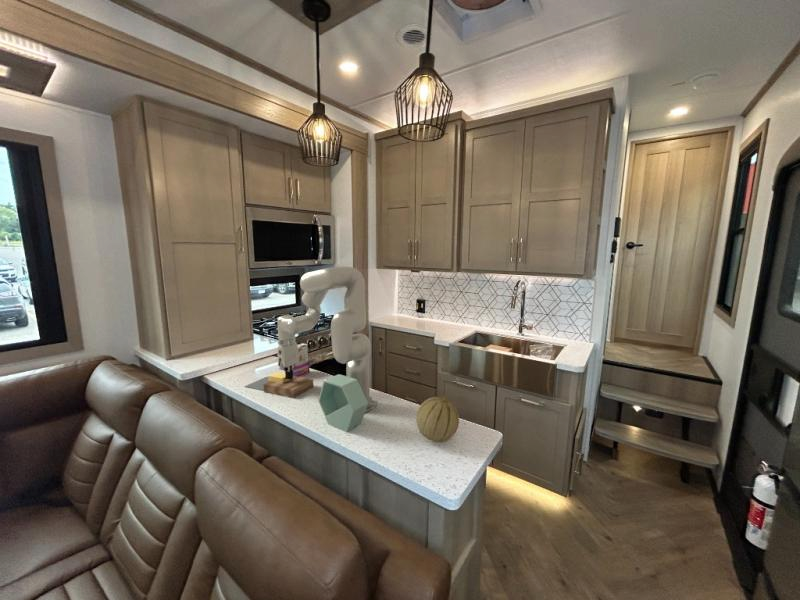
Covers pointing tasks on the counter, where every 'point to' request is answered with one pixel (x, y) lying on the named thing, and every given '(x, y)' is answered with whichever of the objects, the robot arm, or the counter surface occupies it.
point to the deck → (289, 387)
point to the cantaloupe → (437, 419)
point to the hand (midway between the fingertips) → (289, 378)
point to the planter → (342, 402)
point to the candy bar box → (302, 361)
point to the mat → (258, 384)
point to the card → (278, 377)
